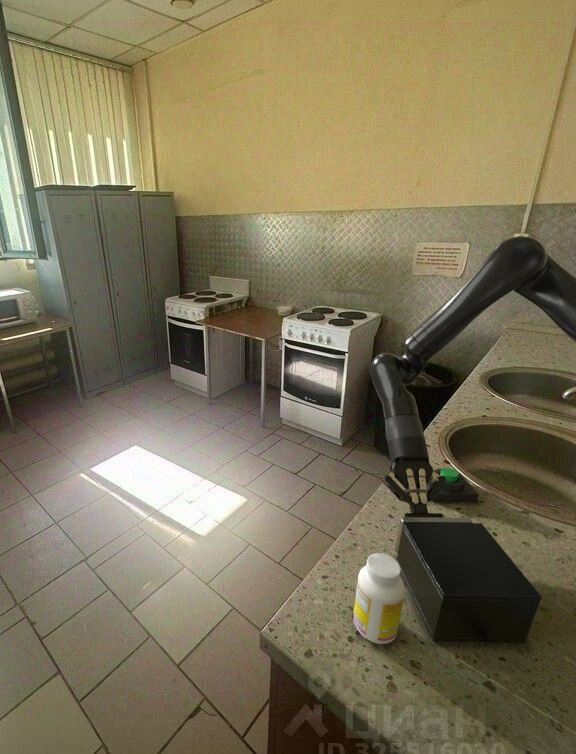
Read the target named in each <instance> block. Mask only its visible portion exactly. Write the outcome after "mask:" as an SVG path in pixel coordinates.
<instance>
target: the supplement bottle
mask: <svg viewBox="0 0 576 754" xmlns="http://www.w3.org/2000/svg"><path fill="white" fill-rule="evenodd" d="M400 572H401V569H400V566H399V564H398V562H397V559H395V558H393V557H392V556H390V555H388V554H386V553H381V552H375V553H372V554H370V555H369V556H368V558H367V561H366V564H365V565H364V566H363V567H362V568H361V569H360V571H359V572H358V576H357V582H356V583H357V584H356V592H355V598H354V608H353V623H354V626H355V627H356V629H357V631H358V632H359V634H360V635H361V636H362V637H364V638H365V639H366V640H368V641H369V642H372V643H375V644H378V645H379V644H380V645H386V644H389V643H391V642H393V641H394V640H395V639H396V637H397V636H398V632H399V626H400V620H401V615H402V609H403V605H404V598H405V591H406V588H405V584H404V583H405V582H404V580H403V578H402V576H401V573H400Z"/></svg>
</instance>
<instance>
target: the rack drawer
mask: <svg viewBox="0 0 576 754" xmlns="http://www.w3.org/2000/svg"><path fill="white" fill-rule="evenodd" d="M403 523H474V521H473V520H472V519H471V518H470V517H444V514H443V513H441V512H428V513H411V512H405V513H404V516H403V517H400V519H399V525H398V531H397V534H396V535H397V536H396V541H395V548H394V549H395V550H394V551H395V553H396V554H397V555H398V550H399V544H400V538H401V533H402V527H403Z"/></svg>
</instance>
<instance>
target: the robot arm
mask: <svg viewBox="0 0 576 754" xmlns="http://www.w3.org/2000/svg"><path fill="white" fill-rule="evenodd" d="M511 292H515V293H516V294H518V295H519V296H521V297H523V298H524V299H526V300H528V301H529V302H531V303H532V304H534V305H535V306H537V308H539V309H540V310H541V311H543V312H544V313H545V314H546V315H547V316H548V317H549V318H550V319H551V320H552V322H553V323H554V324H555V325H556V326H557V327H558V328H559V329H560V330H561V331H562V332H563V333H564V334H565V335H567V337H569V338H570V339H571V340H572V341H573V342H574V344H576V277H575V276H573V275H572V274H571V273H570V272H568V271H567V269H565V268H564V267H563V266H561V265H560V264H559V263H558V262H557V261H556V260H555V259H553V258H552V257H551V256H550V254H548V253H547V250H546V248H545V247H544V245H543V244H542V243H541V241H539V240H537V239H535V238H534V237H530V236H525V235H520V236H512V237H508V238H507V239H504V240H502V241H501V242H498V243H497V244H496V245H495V246H494V247H493V248H492V249H491V251H490V252H489V253H488V256H487V257H486V258H485V259H484V260H483V262H482V263H481V264H480V265H479V267H478V268H477V269H476V271H475V272H474V273H473V274H472V276H471V277H470V278H469V279H468V280H467V281H466V282H465V283H464V284H463V285H462V286H461V287H460V288H459V289H458V290H457V291H456V293H454V294H453V295H452V296H451V297H450V298H449V299H448V300H446V301H445V302H444V303H443V304H442V305H440V306H439V308H437V309H436V310H435V311H433V313H431V314H430V315H429V316H428V317H426V319H424V321H422V322H421V323H420V324H419V325H418V326H416V327H415V329H413V330H412V331H411V332H410V333H409V334H408V335H407V336H406V337H405V339H404V340H403V347H404V349H405V351H404V352H403V354H402V355H401V356H398V355H395V354H393V353H390V352H381V353H379V354H377V355H376V356H375V357H374V358H373V359H372V362H371V364H370V370H369V372H370V377H371V381H372V383H373V386H374V389H375V391H376V393H377V396H378V398H379V399H380V402H381V404H382V411H383V417H384V426H385V439H386V442H387V447H388V454H389V461H390V467H389V472H388V473H387V474H386V475H385V476H383V477H381V478H380V479H381V480H380V481H381V482H382V483H383V484H384V486H385V487H387V488H388V490H389V491H390V492H391V493H392V494H393V495H394V496H395V497H396V498H397V499H398V501H400V502H404V503H406V504H408V506H409V510H410V513H429V511H428V503H430V502H432V501H434V500H435V499H436V497H437V495H438V494H439V492H440V490H441V488H442V486H443V485H444V483H445V481H446V477H445V476H440V475H438V474H437V473H435V472H434V467H433V466H432V465H431V463H430V456H429V452H428V447H427V443H426V439H425V432H424V428H423V424H422V422H421V419H420V415H419V411H418V405H417V402H416V398H415V396H414V394H412V393H411V392H410V391H408V390H407V388H406V387H407V386H409V385H410V384H412V383H414V382H415V381H416V380H417V378H418V377H419V376H420V375H421V373H422V372H423V371H424V369H425V368H426V366H427V365H428V364H429V362H430V360H432V358H434V357H435V356H436V355H437V354H438V353H439V352H441V351H442V350H443V349H444V348H446V347H447V346H448V345H450V343H452V342H453V340H455V339H456V338H457V337H458V336H459V335H460V334H461V333H462V332H463V331H465V329H466V328H467V327H468V326H469V325H470V324H472V322H473V321H475V320H476V318H478V317H479V316H480V315H481V314H482V313H483V312H485V311H486V310H487V309H488V308H489V307H491V306H492V305H493V304H495V303H496V302H498V301H499V300H500V299H502V298H504V297H505V296H506V295H509V294H510V293H511ZM430 477H431V483H432V485H431V487H430V488H429V490H428V492H427V487H426V485H427V483H428V481H429V479H430ZM397 481H398V483H399V484H400V485H401V486H402V487H401V486H400V485H399V484H398V483H397ZM426 492H427V493H426Z"/></svg>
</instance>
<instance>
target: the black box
mask: <svg viewBox="0 0 576 754" xmlns="http://www.w3.org/2000/svg"><path fill="white" fill-rule="evenodd" d="M396 561H397V562H398V564H399V566H400V569H401V572H400V576H401V578H402V580H403V582H404V583H405V585H406V587H407V589H408V591H409V594H410V596H411V598H412V600H413V602H414V605H415V606H416V609H417V611H418V613H419V615H420V617H421V619H422V621H423V623H424V625H425V627H426V630H427V632H428V634H429V636H430V638H431V640H432V642H446V643H447V642H449V643H451V642H452V643H491V644H492V643H493V644H497V643H498V644H526V641H527V638H528V636H529V633H530V630H531V628H532V625H533V621H534V619H535V616H536V614H537V612H538V608H539V605H540V602H541V600H542V595H541V594H540V593H539V591H538V590H537V588H535V586H534V585H533V584H532V583H531V582H530V581H529V580H528V578H527V577H526V575H524V573H523V572H522V571H521V569H519V567H518V566H517V564H515V562H514V561H513V560H512V558H511V557H510V556H509V555H508V554H507V553H506V551H505V550H504V549H503V548H502V546H501V545H500V544H499V543H498V541H497V540H496V539H495V538H494V536H493V535H492V534H491V533H490V532H489V531H488V529H487V528H486V527H485V526H484V524H483V523H481V522H473V523H403V527H402V533H401V538H400V544H399V550H398V554H397V556H396Z"/></svg>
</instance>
